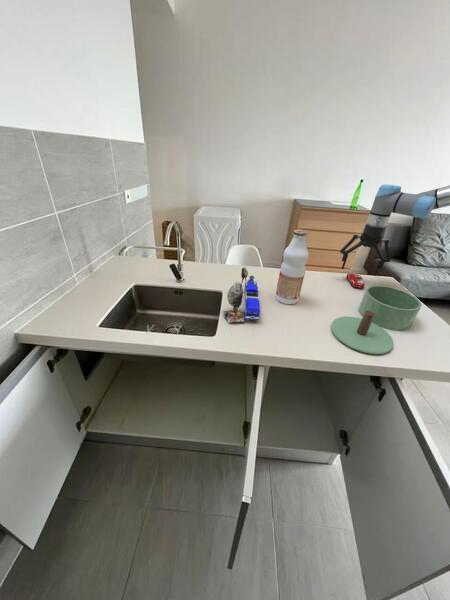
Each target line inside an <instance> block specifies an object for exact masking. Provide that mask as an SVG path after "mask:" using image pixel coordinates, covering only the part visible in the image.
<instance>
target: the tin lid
mask: <svg viewBox="0 0 450 600" xmlns="http://www.w3.org/2000/svg"><path fill="white" fill-rule="evenodd" d="M374 317H375V313H373V312H371V311H365V313H364V315H363V316H361V317H357V316H356V317H355V316H339V317H337V318H335V319H334V320H333V321H332V322H331V331H332V333H333V335H334V336H335V337H336V339H337V340H338V341H340V342H341V343H342V344H344V345H346V346H347V347H349V348H351V349H353V350H356V351H358V352H361V353H366V354H371V355H382V354H386V353H389V352H391V350H392V349H393V348H394V340H393V338H392V335H390V333H388V331H386V330H385V328H383V327H380V326H378V325H376V324H374V323H372V321H373V319H374Z"/></svg>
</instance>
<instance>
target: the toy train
mask: <svg viewBox="0 0 450 600" xmlns="http://www.w3.org/2000/svg"><path fill="white" fill-rule="evenodd" d="M248 277H249V278H248V280H247V281H245V280H244V316H245V320H246V321H249V320H251V321H259V320H260V314H261V306H260V296H259V288H258V280H257V279H256V280H255V276H254V275H248Z"/></svg>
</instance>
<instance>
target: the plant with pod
mask: <svg viewBox="0 0 450 600" xmlns="http://www.w3.org/2000/svg"><path fill="white" fill-rule="evenodd" d="M240 275H241V281H238V282H237V281H236V282H234V283H233V284H232V285H231V286H230V287H229V289H228V291H227V293H226V299H227V302H228V304H229V305H230V306H231V307H232V309H229V310H224V311H222V315H223V317H224V318H225V319H226V320H227V322H228V324H231V323H243V324H244V323H245V322H246V319H245V313H244V312H242V311H241V310H240V309H239V308H240V307H241V305H242V303H243V298H244V297H243V296H244V289H243V288H244V287H243V283H244V282H245V281H246V282H247V281H248V280H247V278H248V277H249V272H248V269H247V268H246V267H242V268H241V273H240Z"/></svg>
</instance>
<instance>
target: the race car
mask: <svg viewBox="0 0 450 600" xmlns="http://www.w3.org/2000/svg"><path fill="white" fill-rule="evenodd" d="M346 280H348V282H349V284H350V286H351V287H353V288H358V289H364V288H365V284H366V283H365V281H364V279H363V276H362V275H359V274H357V273H353V272H349V273H347V274H346Z"/></svg>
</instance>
